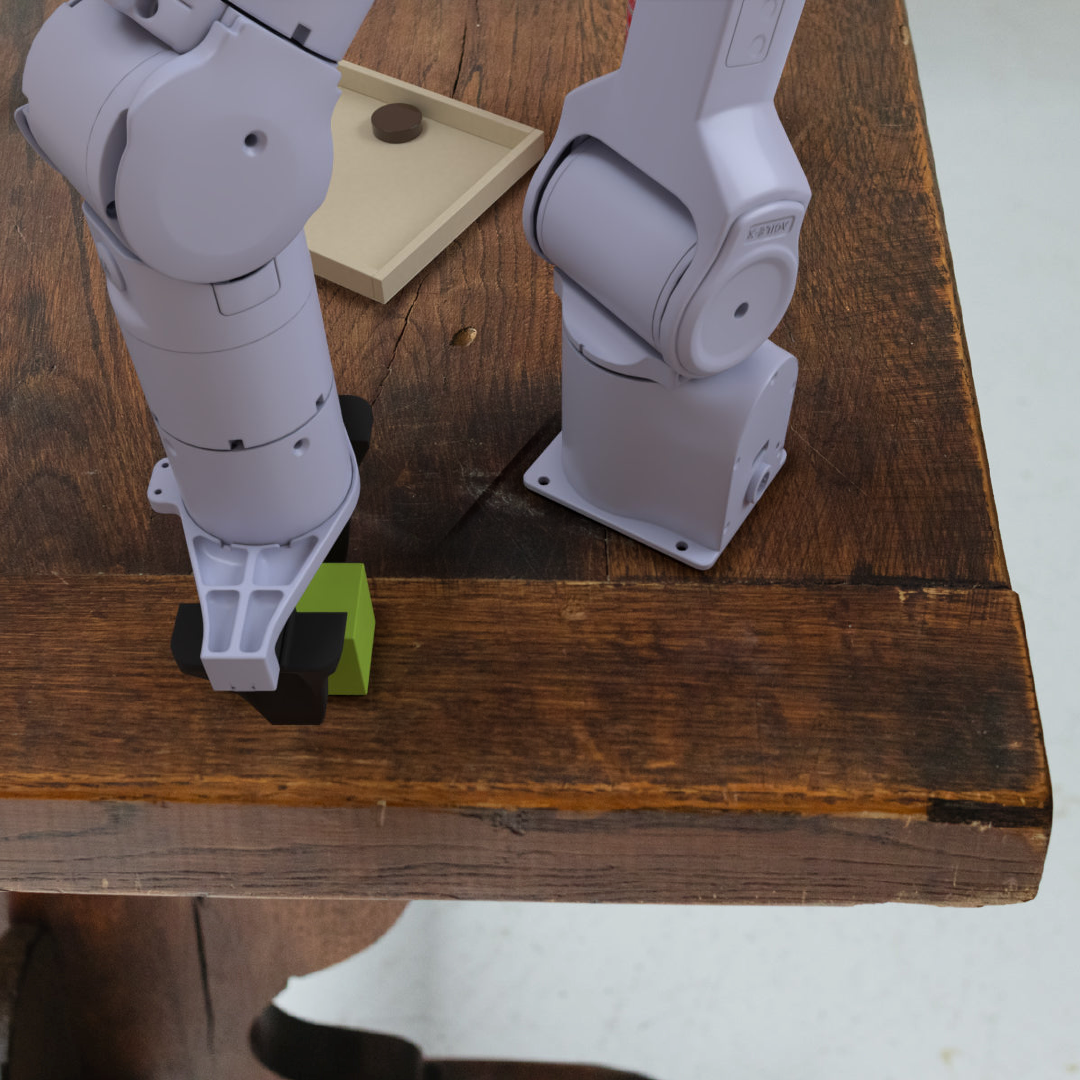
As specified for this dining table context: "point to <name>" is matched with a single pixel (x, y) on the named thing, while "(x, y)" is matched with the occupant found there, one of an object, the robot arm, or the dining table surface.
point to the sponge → (346, 593)
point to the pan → (408, 182)
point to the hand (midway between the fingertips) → (310, 632)
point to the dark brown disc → (397, 123)
